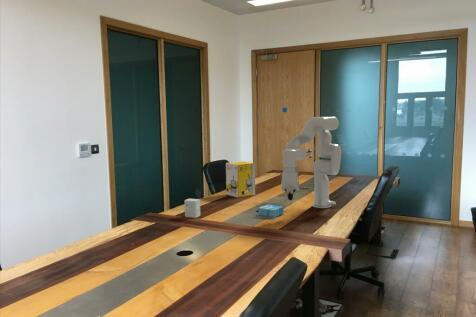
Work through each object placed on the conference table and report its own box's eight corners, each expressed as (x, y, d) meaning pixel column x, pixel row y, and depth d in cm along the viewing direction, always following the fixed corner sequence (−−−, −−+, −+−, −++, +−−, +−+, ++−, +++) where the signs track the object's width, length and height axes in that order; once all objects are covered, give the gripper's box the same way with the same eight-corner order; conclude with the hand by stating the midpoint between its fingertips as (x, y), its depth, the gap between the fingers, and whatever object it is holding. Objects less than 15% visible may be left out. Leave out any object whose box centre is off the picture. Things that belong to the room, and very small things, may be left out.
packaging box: (255, 195, 309) (255, 163, 306) (238, 197, 300) (237, 164, 297) (243, 191, 322) (242, 161, 319) (226, 194, 313) (225, 162, 310)
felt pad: (279, 213, 250) (279, 213, 250) (274, 219, 237) (274, 218, 237) (259, 212, 255) (259, 211, 255) (253, 217, 241) (253, 217, 241)
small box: (200, 215, 247) (200, 199, 246) (195, 218, 242) (195, 201, 241) (189, 214, 251) (189, 198, 250) (184, 216, 246) (184, 200, 245)
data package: (273, 210, 239) (257, 207, 246) (273, 217, 239) (257, 214, 247) (284, 206, 248) (268, 204, 256) (284, 213, 249) (268, 211, 256)
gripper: (303, 169, 239) (303, 198, 242) (279, 168, 244) (279, 197, 247) (301, 171, 232) (301, 201, 235) (276, 170, 237) (276, 200, 240)
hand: (290, 199), depth 241 cm, fingers closed
